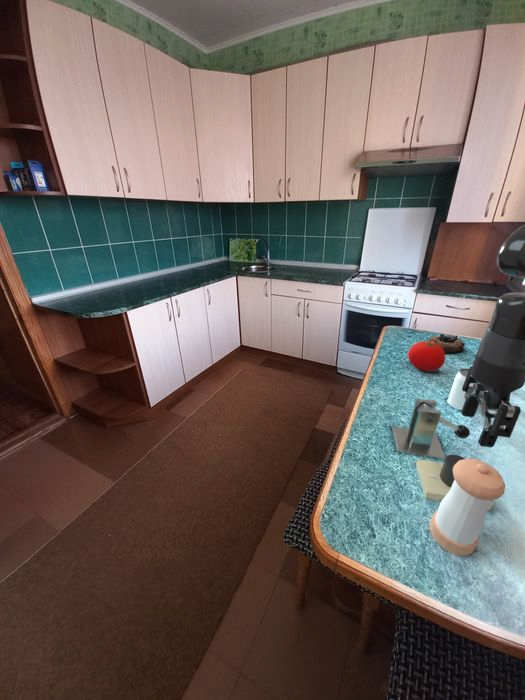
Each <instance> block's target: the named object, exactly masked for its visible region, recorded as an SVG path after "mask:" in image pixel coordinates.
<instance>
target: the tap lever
mask: <svg viewBox="0 0 525 700" xmlns="http://www.w3.org/2000/svg"><path fill="white" fill-rule="evenodd" d="M420 409H428V410H434V408H432V407H430V406H428V405H426V404H425V403H424V404H423V405H421V406H420V407H419V408H418V409H417V410H418V412H419V410H420ZM438 423H440V424H442V425H443V426H445V427H447V428H449V429H451V430H452V431H453V434H454V435H455V436H456V437H457V438H459V439H463V440H464V439H467V438H468V437H469V436H470V434H471V430H470V429H469V427H467V426H466V425H464V424H458V425H457V424H456V423H455V424H454V423H453V422H451V421H449V420H448V419H446V418H444V417H442V416H440V419H439V422H438Z"/></svg>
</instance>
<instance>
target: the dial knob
mask: <svg viewBox="0 0 525 700" xmlns="http://www.w3.org/2000/svg"><path fill="white" fill-rule="evenodd" d="M445 457H446V459H444V461H443V463H444V464H443V467H442V470H441V472H440V478H441V480H442V481H443V482H444V483H445V484H446V485H447V486H449V487H452V484H453V482H454V480H455V479H454V475H453V467H454V465H455V464H456V463H457V462H458V461H460V460H464V459H466V458H465V457H463V456H461V455H458V454H448V455H447V456H445Z"/></svg>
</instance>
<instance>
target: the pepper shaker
mask: <svg viewBox="0 0 525 700" xmlns="http://www.w3.org/2000/svg"><path fill="white" fill-rule="evenodd" d="M453 475H454V479H455V480H454V482H453V484H452V487H451V489H450V491H449V492H448V493H447V495H446V496H445V497H444V499H443V500H442V501H441V502H440V503H439V506H438V509H437V510H436V511H435V512H434V513H433V515H432V517H431V520H430V523H429V532H430V535H431V536H432V538H433V539H434V541H435V542H436V543H437V544H438V545H439V546H440V547H441V548H442V549H444V550H445V551H447V552H449V553H450V554H453V555H456V556H459V557H466V556H470V555H472V554H473V552H474V551H475V549H476V547H477V545H478V544H479V539H480V537H479V536H480V534H481V533H482V531H483V529H484V525H485V520H486V515H487V512H488V511H487V510H488V508H489V506H490V504H491V502H492V503H493V501H494V500H498V499H500V498H501V497H502V496H503V495H505V492H506V490H505V489H506V483H505V481H504V478H503V476H502V475H501V473H500V472H499V471H498V470H497V469H496V468H495V467H493V466H491V464H488V463H487V462H485V461H483V460H480V459H477V458H465V459H464V460H460V461H458V462H457V463H456V464H455V465H454V467H453Z"/></svg>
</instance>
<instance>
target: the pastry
mask: <svg viewBox="0 0 525 700" xmlns="http://www.w3.org/2000/svg"><path fill="white" fill-rule="evenodd" d="M427 341H428V342H433V343H436V344H438V345H439V346H441V347H442V348H443V350H444V353H445V355H454V354H459V353H463V352H464V351H465V348H464V347H465V346H466V343H465V342H464V340H463V341H462V338H459V336H458V335H453V334H449V333H448V334H444V333H440V334H439V335H435V336H430V338H429V339H428V340H427Z"/></svg>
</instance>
